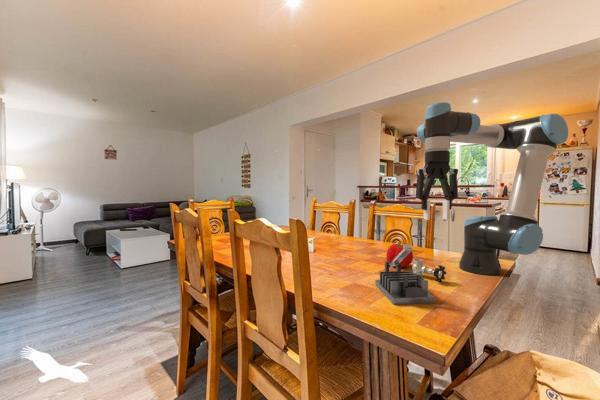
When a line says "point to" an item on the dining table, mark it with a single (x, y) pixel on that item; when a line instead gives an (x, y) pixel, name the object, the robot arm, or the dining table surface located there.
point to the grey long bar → (401, 255)
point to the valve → (428, 270)
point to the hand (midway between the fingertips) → (436, 219)
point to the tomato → (394, 252)
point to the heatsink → (404, 286)
